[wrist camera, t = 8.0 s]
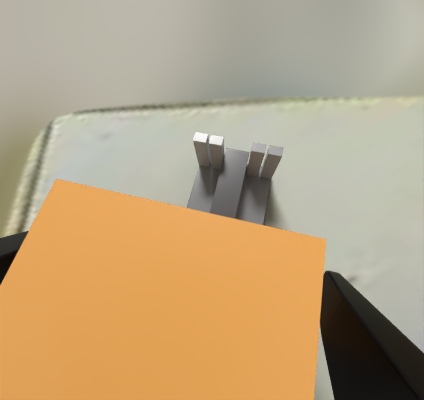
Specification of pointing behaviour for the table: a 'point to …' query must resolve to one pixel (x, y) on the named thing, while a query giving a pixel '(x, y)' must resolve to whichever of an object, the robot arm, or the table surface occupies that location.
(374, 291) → the table surface
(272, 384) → the orange block
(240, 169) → the grey pronged base
